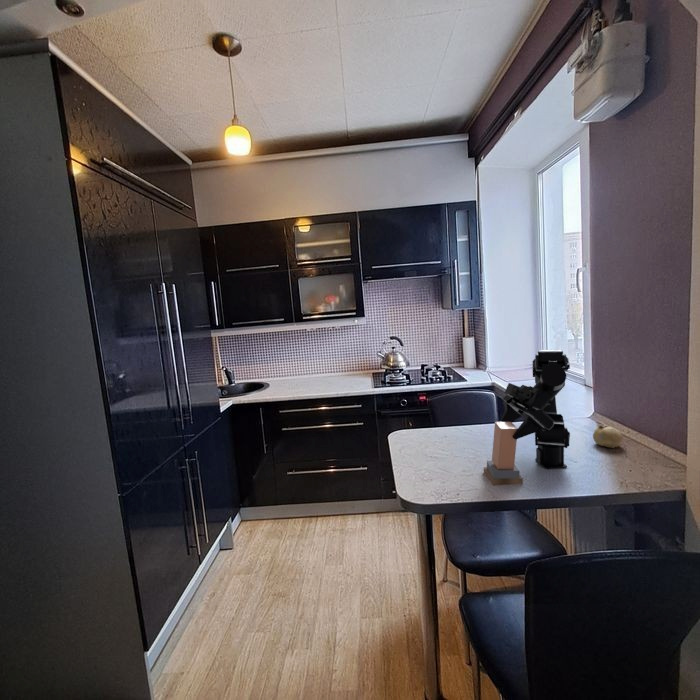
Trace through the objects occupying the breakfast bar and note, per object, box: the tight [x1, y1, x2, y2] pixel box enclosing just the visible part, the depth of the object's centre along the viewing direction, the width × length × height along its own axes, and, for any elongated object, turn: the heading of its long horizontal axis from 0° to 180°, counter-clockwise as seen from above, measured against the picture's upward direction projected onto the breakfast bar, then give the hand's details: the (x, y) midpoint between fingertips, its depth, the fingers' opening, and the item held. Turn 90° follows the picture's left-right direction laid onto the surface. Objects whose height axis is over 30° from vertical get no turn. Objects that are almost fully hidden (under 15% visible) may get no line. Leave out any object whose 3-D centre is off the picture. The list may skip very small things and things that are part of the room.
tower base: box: [483, 466, 524, 486], centre depth 105 cm, size 8×8×2 cm
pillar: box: [491, 421, 519, 469], centre depth 103 cm, size 4×4×12 cm
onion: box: [592, 423, 624, 449], centre depth 121 cm, size 8×8×7 cm
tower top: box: [486, 460, 521, 479], centre depth 105 cm, size 7×7×2 cm
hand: (506, 432), depth 104 cm, fingers open, 9 cm apart
